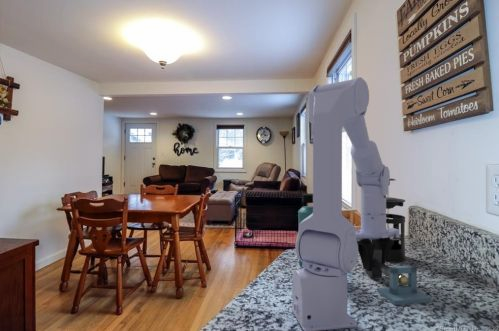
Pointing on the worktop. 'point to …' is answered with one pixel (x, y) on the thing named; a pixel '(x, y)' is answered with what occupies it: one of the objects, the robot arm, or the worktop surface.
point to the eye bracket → (403, 287)
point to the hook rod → (382, 268)
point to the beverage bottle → (305, 211)
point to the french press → (397, 249)
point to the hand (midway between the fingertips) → (373, 268)
